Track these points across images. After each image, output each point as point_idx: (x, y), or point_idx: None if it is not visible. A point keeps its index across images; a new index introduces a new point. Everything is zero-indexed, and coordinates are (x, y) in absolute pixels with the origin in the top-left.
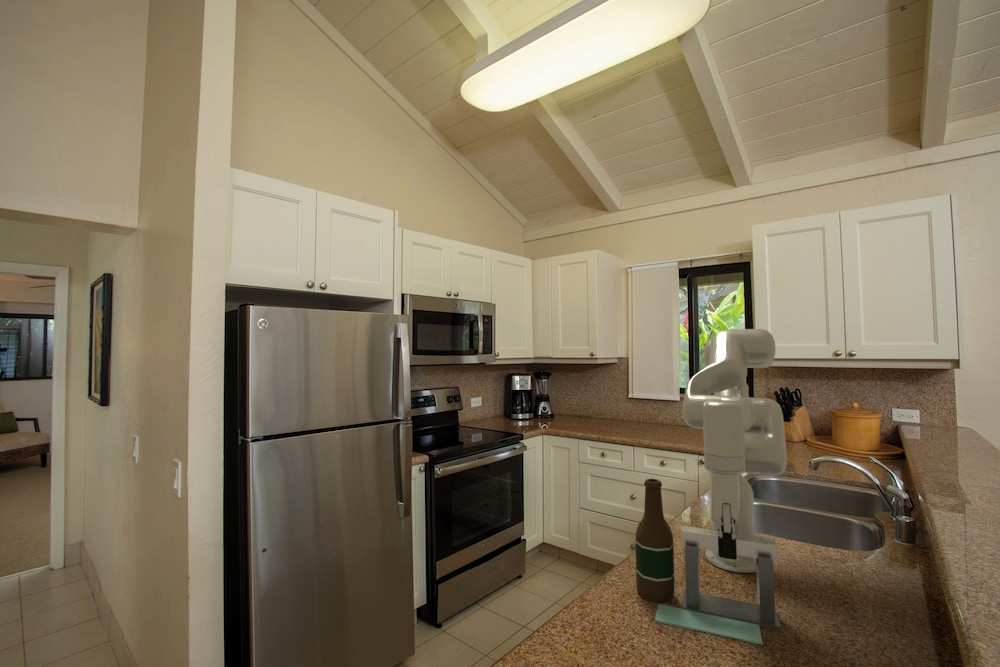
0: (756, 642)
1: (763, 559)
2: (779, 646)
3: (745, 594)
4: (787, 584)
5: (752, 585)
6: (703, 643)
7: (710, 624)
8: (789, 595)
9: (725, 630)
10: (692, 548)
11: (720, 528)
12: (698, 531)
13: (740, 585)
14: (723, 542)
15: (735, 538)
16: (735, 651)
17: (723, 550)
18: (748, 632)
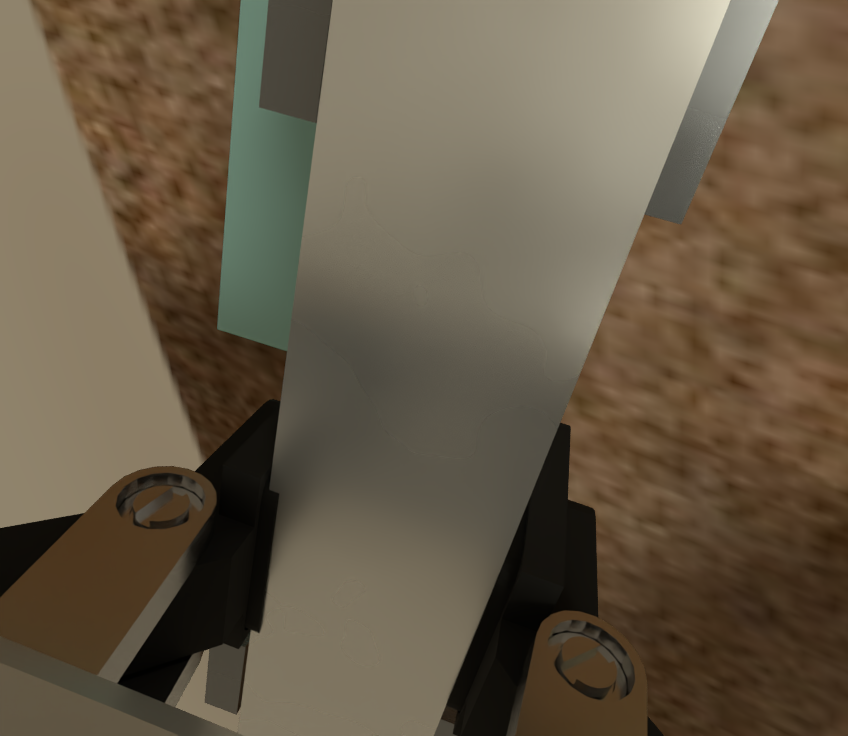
0: (219, 306)
1: (212, 655)
2: (239, 387)
3: (677, 431)
4: (786, 661)
5: (786, 508)
6: (149, 45)
7: (301, 127)
8: (669, 615)
9: (267, 194)
10: (273, 25)
11: (30, 591)
12: (422, 210)
13: (791, 448)
14: (202, 474)
15: (234, 643)
16: (143, 192)
17: (250, 417)
18: (279, 300)
